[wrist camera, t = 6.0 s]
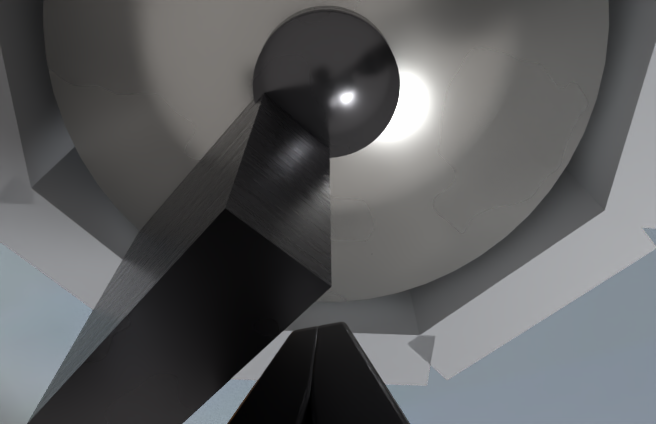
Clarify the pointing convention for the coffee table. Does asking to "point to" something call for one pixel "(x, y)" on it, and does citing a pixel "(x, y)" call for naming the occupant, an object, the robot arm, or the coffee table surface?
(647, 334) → the coffee table surface
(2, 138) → the dial panel
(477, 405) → the coffee table surface
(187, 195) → the dial
